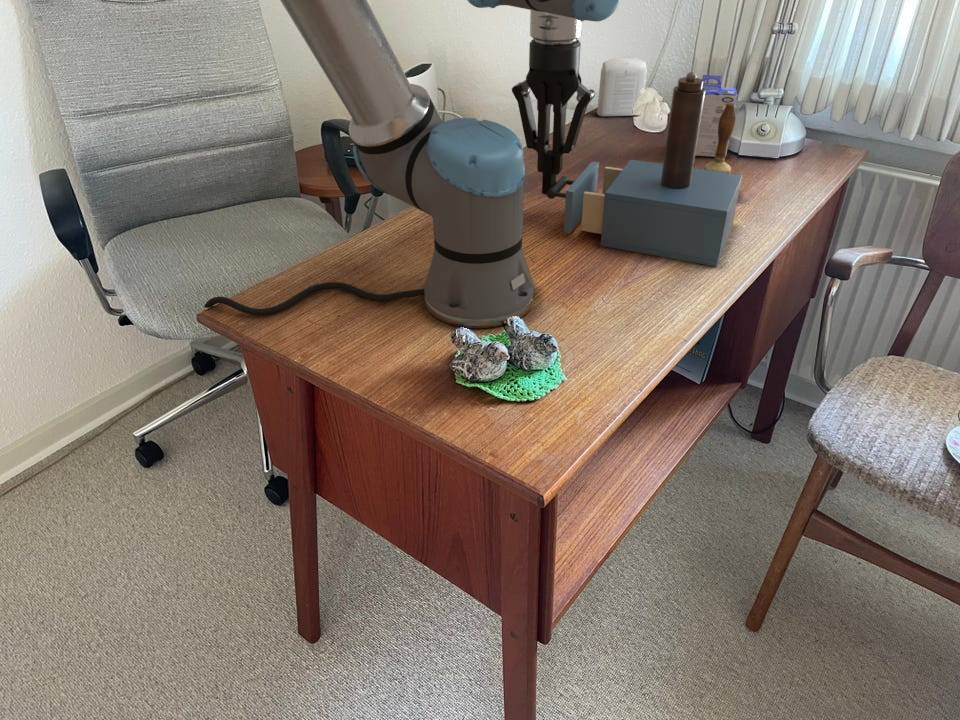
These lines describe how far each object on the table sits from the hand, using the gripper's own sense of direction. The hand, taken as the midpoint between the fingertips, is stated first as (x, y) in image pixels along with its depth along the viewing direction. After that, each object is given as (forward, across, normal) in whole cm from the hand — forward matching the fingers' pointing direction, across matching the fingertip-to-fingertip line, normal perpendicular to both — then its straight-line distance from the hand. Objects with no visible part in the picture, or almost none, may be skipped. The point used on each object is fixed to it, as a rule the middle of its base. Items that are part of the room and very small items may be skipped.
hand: (548, 191), depth 120 cm
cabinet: (+4, +20, 0) cm, 21 cm away
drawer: (+3, +11, 0) cm, 12 cm away
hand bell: (+5, +24, +19) cm, 31 cm away
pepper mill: (-4, +20, 0) cm, 21 cm away
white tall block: (+5, -3, +58) cm, 58 cm away
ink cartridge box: (+5, +18, +40) cm, 44 cm away
